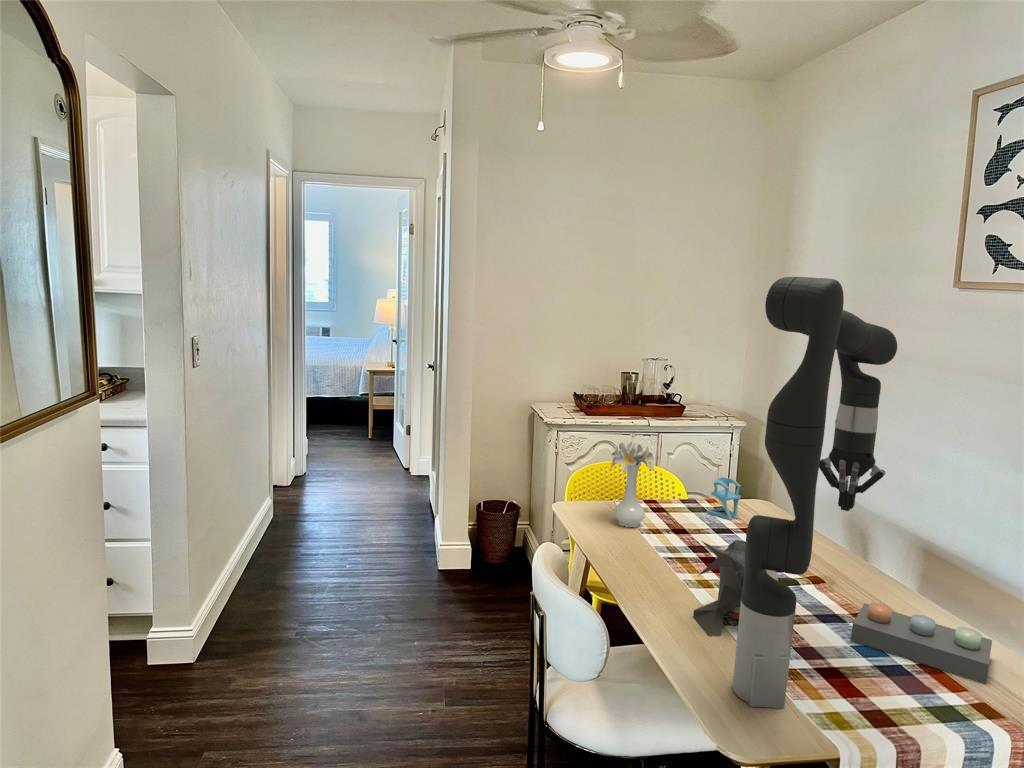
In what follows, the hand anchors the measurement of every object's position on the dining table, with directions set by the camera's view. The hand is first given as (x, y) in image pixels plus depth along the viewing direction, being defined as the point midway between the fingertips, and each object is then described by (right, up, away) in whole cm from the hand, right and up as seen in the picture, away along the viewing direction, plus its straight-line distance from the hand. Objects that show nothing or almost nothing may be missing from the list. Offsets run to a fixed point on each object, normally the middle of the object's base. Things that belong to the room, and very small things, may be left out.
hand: (845, 509), depth 144 cm
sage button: (+23, -27, -3) cm, 35 cm away
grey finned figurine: (-20, -27, +12) cm, 36 cm away
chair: (0, -17, +81) cm, 82 cm away
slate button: (+17, -26, +2) cm, 31 cm away
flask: (-5, -24, +32) cm, 41 cm away
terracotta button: (+10, -25, +7) cm, 28 cm away
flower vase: (-33, -17, +70) cm, 79 cm away
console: (+17, -30, +3) cm, 34 cm away
